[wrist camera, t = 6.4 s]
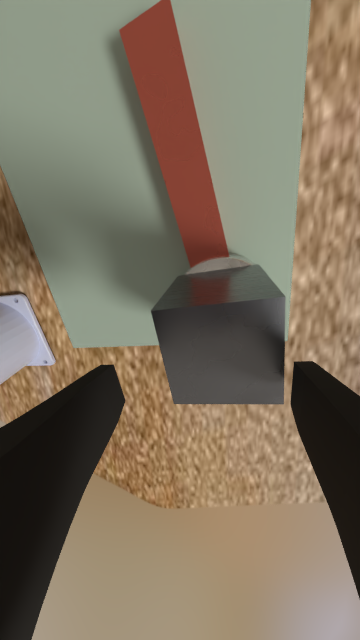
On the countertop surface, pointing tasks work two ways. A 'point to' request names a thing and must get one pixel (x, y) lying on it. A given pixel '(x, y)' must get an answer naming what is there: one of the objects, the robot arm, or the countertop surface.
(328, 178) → the countertop surface
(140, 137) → the mat
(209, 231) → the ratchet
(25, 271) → the countertop surface
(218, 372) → the brushed grey square block
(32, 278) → the countertop surface
